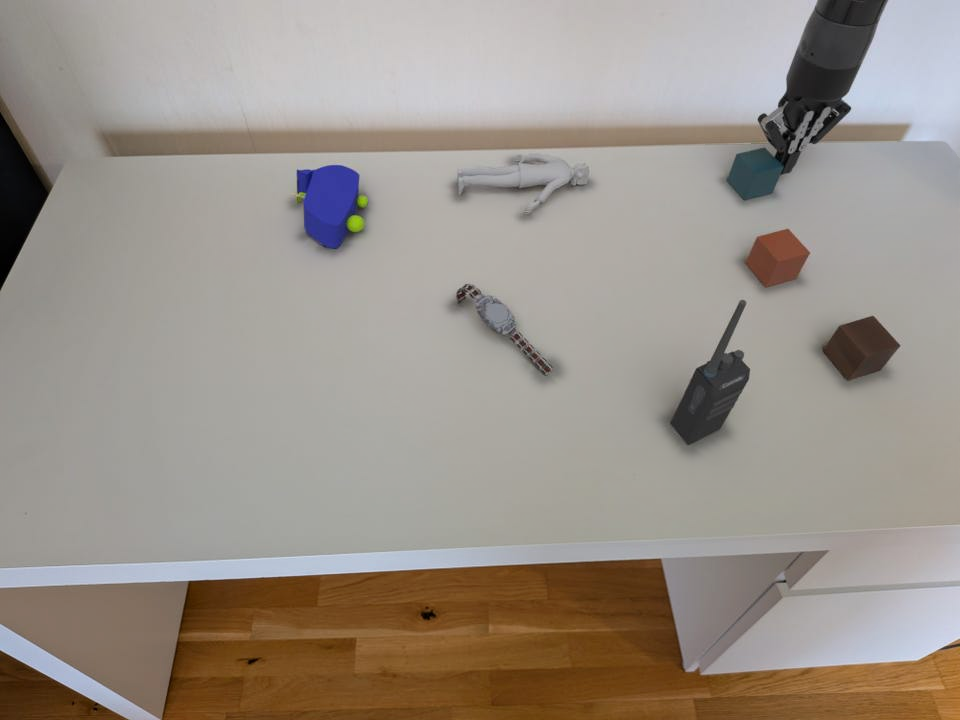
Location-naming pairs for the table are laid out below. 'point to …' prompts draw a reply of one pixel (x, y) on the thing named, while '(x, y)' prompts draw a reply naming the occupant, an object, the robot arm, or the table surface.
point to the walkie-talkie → (713, 389)
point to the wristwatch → (501, 322)
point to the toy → (330, 203)
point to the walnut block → (860, 347)
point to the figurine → (526, 175)
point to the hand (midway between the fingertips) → (781, 170)
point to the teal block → (754, 173)
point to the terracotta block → (777, 257)
